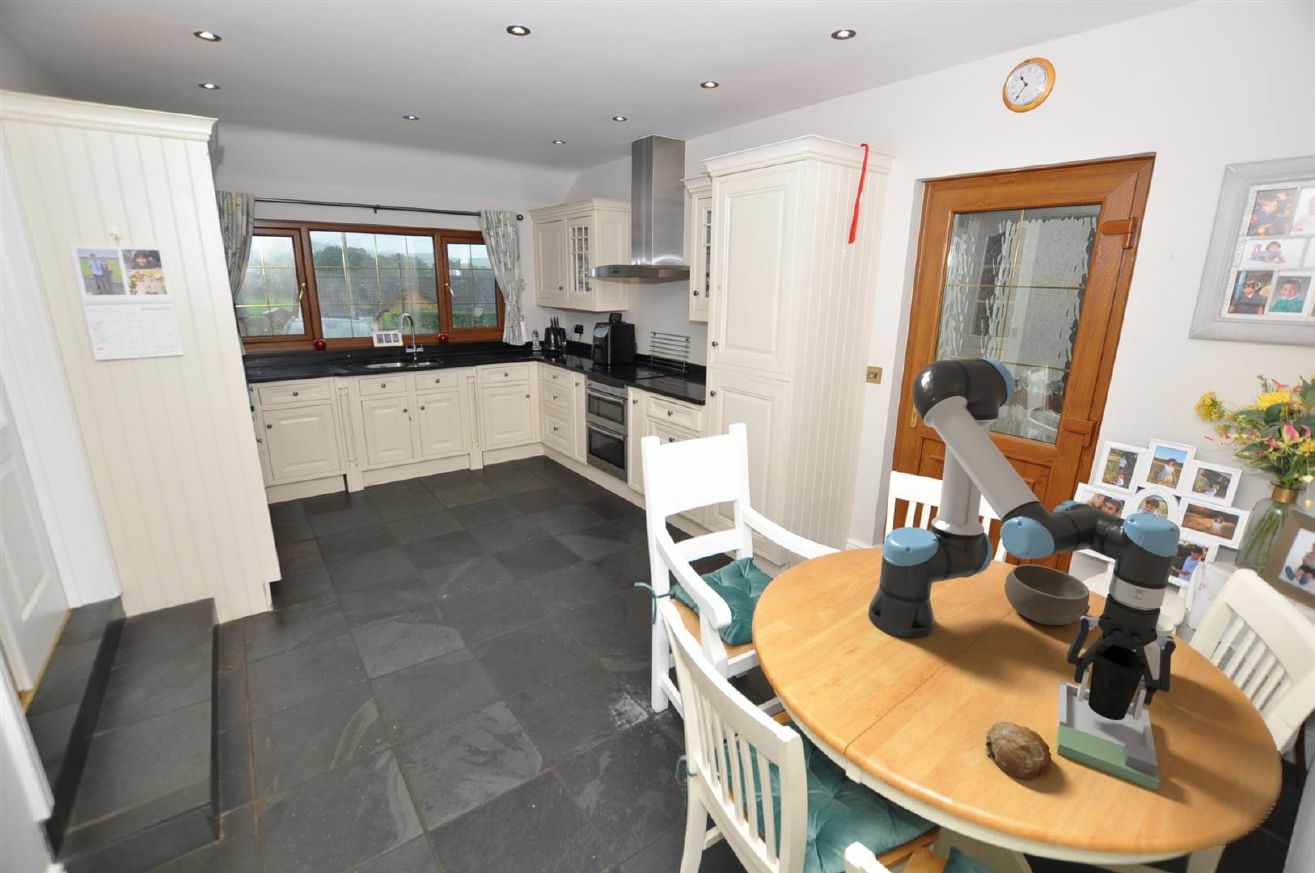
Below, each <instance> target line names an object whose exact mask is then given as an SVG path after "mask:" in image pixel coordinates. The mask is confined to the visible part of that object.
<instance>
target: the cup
mask: <svg viewBox="0 0 1315 873" xmlns="http://www.w3.org/2000/svg"><path fill="white" fill-rule="evenodd" d="M1145 668H1146V666H1145V665H1143V666H1142V667H1140V664H1139V660H1138V657H1137V654H1136V652H1135V651H1133V650H1131V649H1128V648H1126V647H1124V646H1116V645H1113V644H1112V645H1111V646H1110V647H1109V648H1107V649H1106V650H1105V651H1104V652H1103V653H1101V654H1099V653H1098V652H1097V651H1096V652H1095V660H1094V661H1093V662H1092V667H1091V673H1090V676H1091V677H1090V683H1089V684H1090V686H1089V690H1090V693H1089V702H1088V704H1089V707H1090V708H1091V709H1092V710H1093V711H1094V712H1095V713H1097V714H1098V715H1100V716H1102V717H1105V718H1107V719H1111V720H1122V719H1124V717H1125V715H1126V713H1127V711H1128V708H1129V706H1130V704H1131V703H1132V701H1133V699H1134V698H1135V697H1134V696H1135V695H1136V693H1137V689H1138V685H1139V683H1140V681H1141V678H1142V675H1143V673H1144V670H1145Z"/></svg>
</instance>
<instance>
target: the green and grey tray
mask: <svg viewBox="0 0 1315 873" xmlns="http://www.w3.org/2000/svg"><path fill="white" fill-rule="evenodd" d="M1078 689H1079V685H1076V684H1073V683H1070V682H1067V681H1063V680H1060V682H1059V687H1058V692H1057V693H1058V694H1057V731H1056V732H1057V734H1056V735H1057V736H1056V737H1057V738H1056V754H1058V755H1061V756H1064V757H1066V758H1069V759H1072V760H1073V761H1076V762H1080V763H1082V764H1084V765H1087V766H1090V767H1092V768H1095V769H1097V770H1101V771H1102V772H1106V773H1108V774H1110V775H1114V776H1117V777H1118V778H1122V779H1124V780H1127V781H1129V782H1133V783H1135V784H1137V785H1140V786H1142V787H1145V788H1148V789H1150V790H1154V791H1156V792H1157V791H1158V789H1159V785H1160V783H1161V782H1160V776H1159V771H1158V768H1159V765H1158V760H1157V759H1158V758H1157V752H1156V746H1155V740H1154V735H1153V730H1152V725H1151V718H1150V714H1149V708H1148V707H1145V706H1142V709H1141V713H1140V716H1139V720H1135V719H1133V714H1132V708H1133V704H1134V702H1133V703H1132V702H1131V704H1130V706H1129V708H1128V711H1127V713H1126V715H1125V717H1124V719H1122V720H1111V719H1107V718H1105V717H1102V716H1100V715H1098V714H1097V713H1095V712H1094V711H1093V710H1092V709H1091V708H1090V707H1089V704H1088V702H1089V693H1090V688H1086V690H1085V694H1084V698H1083V702H1080V701H1078Z"/></svg>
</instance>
